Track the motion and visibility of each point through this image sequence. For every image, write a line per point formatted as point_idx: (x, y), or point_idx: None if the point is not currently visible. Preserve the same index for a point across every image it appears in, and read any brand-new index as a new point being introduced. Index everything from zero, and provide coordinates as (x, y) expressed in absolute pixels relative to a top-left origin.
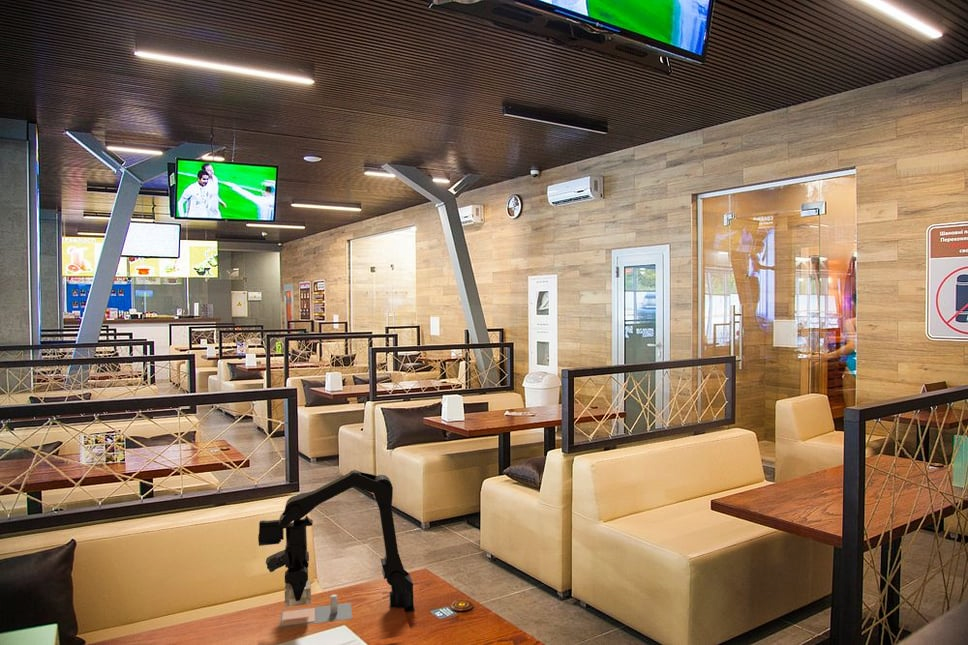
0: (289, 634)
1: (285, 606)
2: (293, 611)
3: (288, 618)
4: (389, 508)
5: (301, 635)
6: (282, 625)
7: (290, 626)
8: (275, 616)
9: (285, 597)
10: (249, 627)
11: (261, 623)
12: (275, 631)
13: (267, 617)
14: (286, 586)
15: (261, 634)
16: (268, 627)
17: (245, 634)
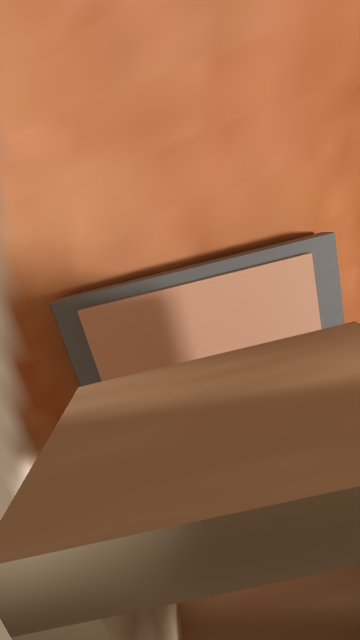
0: (37, 366)
1: (75, 396)
2: (306, 330)
3: (190, 328)
4: None
5: (29, 435)
6: (80, 317)
7: (76, 372)
8: (314, 186)
9: (34, 475)
10: (139, 17)
11: (205, 107)
12: (74, 264)
13: (307, 123)
14: (272, 529)
15: (24, 173)
16: (135, 191)
17: (15, 28)
